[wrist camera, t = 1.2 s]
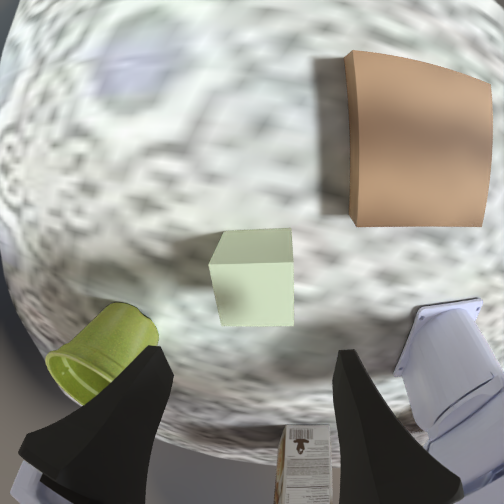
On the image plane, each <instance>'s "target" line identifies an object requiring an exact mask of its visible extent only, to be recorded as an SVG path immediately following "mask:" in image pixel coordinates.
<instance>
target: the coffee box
mask: <svg viewBox="0 0 504 504" xmlns="http://www.w3.org/2000/svg"><path fill="white" fill-rule="evenodd" d="M274 504H332V460H331V439H330V425H285V428H284V430H283V433H282V436H281V439H280V442H279V445H278V455H277V469H276V482H275V494H274Z"/></svg>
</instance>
